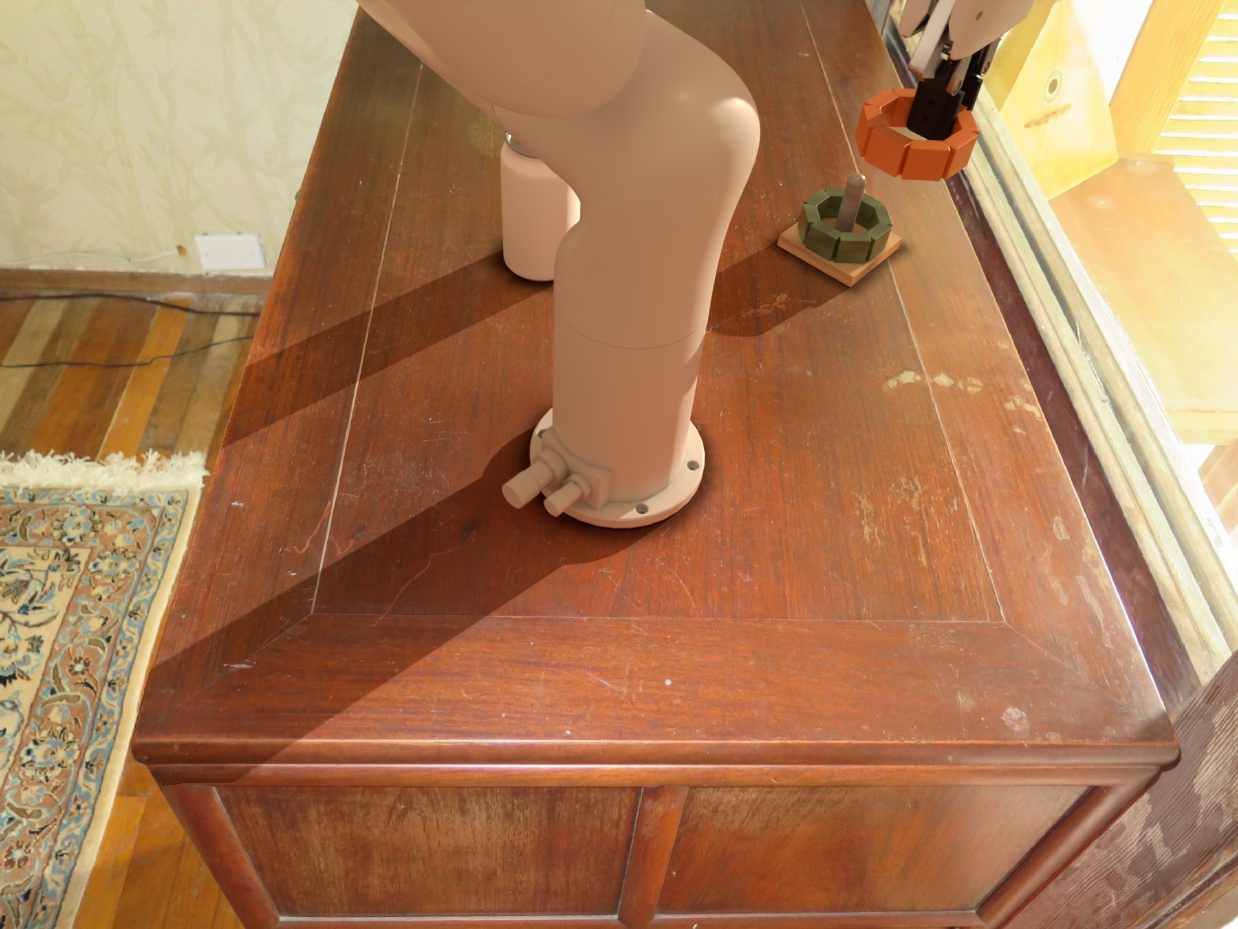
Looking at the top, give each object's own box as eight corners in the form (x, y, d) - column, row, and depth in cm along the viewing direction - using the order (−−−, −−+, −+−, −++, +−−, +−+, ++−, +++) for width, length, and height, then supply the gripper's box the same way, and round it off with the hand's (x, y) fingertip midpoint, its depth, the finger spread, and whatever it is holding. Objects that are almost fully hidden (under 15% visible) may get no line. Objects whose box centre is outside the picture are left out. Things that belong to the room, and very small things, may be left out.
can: (568, 290, 84) (572, 166, 74) (494, 276, 84) (489, 152, 75) (585, 243, 88) (591, 121, 78) (514, 231, 88) (512, 108, 79)
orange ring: (925, 194, 66) (935, 163, 64) (835, 144, 69) (842, 113, 67) (986, 152, 70) (998, 121, 68) (898, 106, 73) (907, 76, 71)
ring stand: (850, 287, 86) (872, 215, 80) (776, 245, 89) (793, 172, 83) (899, 248, 90) (923, 176, 84) (827, 209, 93) (846, 137, 87)
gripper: (1038, -206, 62) (948, 70, 76) (898, -145, 54) (827, 149, 69) (1151, -170, 59) (1035, 111, 73) (1019, -100, 51) (919, 198, 65)
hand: (935, 128), depth 71 cm, fingers closed on orange ring, 1 cm apart
